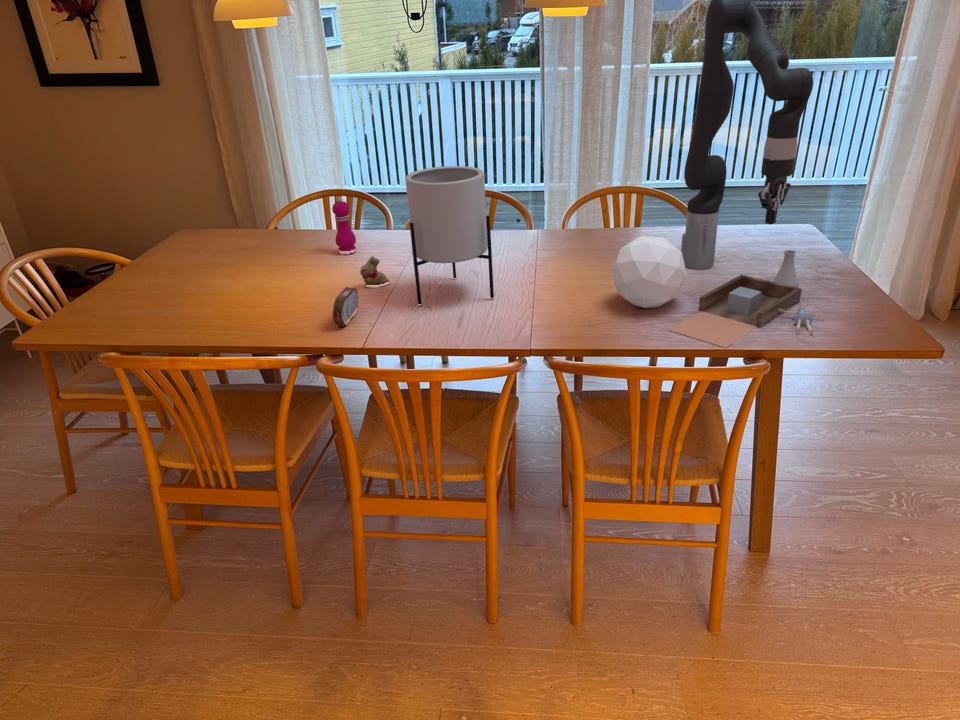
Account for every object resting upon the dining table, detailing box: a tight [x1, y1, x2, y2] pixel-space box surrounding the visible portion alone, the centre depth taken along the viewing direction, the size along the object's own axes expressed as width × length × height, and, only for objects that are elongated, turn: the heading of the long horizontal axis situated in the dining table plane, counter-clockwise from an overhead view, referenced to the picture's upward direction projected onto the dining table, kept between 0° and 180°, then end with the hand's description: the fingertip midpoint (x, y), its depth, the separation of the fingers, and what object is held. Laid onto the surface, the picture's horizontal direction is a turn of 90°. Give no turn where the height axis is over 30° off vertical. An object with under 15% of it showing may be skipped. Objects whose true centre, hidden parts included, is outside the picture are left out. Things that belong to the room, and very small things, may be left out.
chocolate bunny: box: [359, 255, 390, 285], centre depth 215 cm, size 6×8×10 cm
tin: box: [332, 286, 359, 326], centre depth 192 cm, size 15×3×8 cm, turn 171°
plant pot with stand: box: [404, 165, 495, 305], centre depth 198 cm, size 24×24×36 cm
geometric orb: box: [612, 235, 688, 309], centre depth 187 cm, size 19×20×20 cm
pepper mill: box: [332, 196, 357, 251], centre depth 244 cm, size 7×7×20 cm
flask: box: [772, 249, 800, 288], centre depth 196 cm, size 7×7×10 cm
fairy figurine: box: [778, 305, 827, 336], centre depth 173 cm, size 12×5×12 cm
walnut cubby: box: [698, 274, 803, 328], centre depth 185 cm, size 17×22×4 cm
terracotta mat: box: [668, 311, 758, 349], centre depth 175 cm, size 16×16×1 cm
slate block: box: [727, 287, 762, 316], centre depth 183 cm, size 6×6×5 cm
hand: (770, 223), depth 180 cm, fingers closed
